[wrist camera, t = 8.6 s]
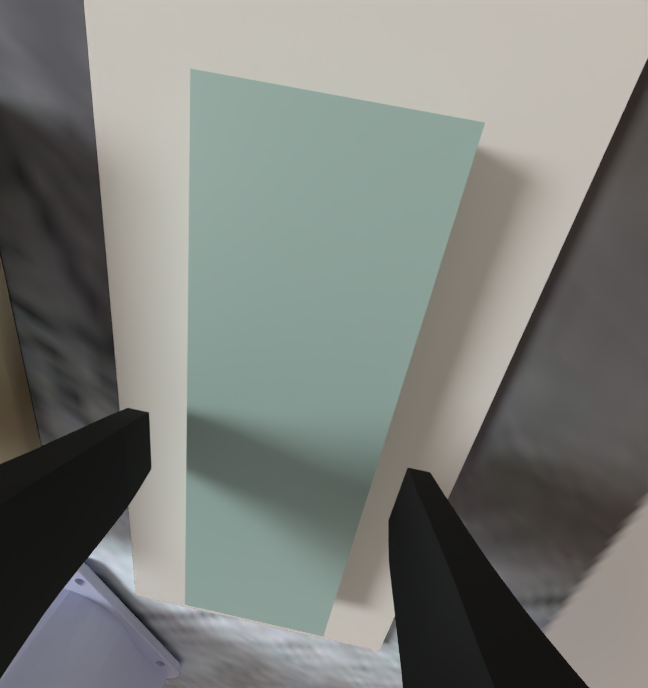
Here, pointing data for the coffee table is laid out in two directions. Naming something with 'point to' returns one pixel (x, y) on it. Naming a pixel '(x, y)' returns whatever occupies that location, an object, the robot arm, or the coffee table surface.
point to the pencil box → (13, 388)
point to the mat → (462, 247)
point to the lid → (301, 326)
